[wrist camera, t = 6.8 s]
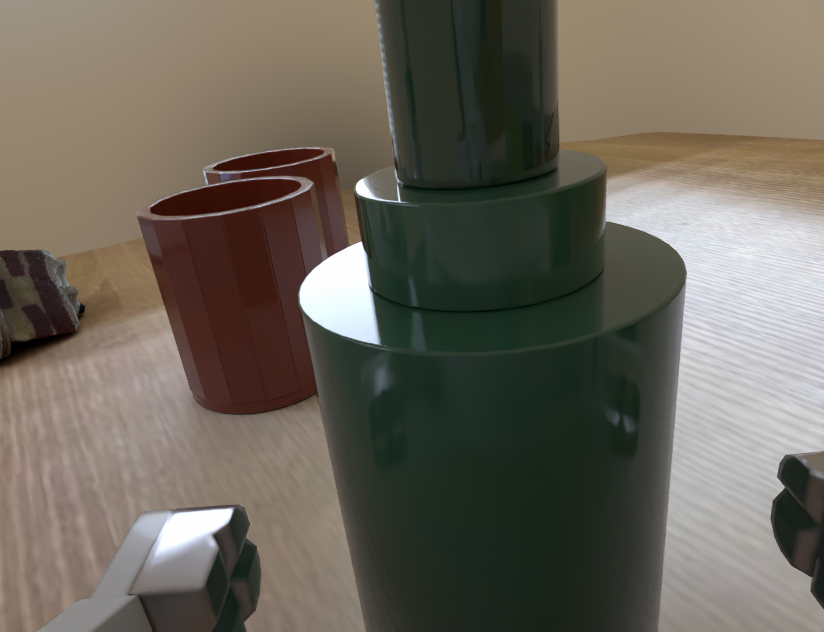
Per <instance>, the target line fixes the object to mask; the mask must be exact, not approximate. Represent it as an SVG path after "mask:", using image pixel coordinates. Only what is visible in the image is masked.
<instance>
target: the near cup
mask: <svg viewBox="0 0 824 632" xmlns="http://www.w3.org/2000/svg"><path fill="white" fill-rule="evenodd" d="M137 218H138V221H139V224H140V227H141V231H142V234H143V237H144V240H145V244H146V247H147V250H148V253H149V257H150V260H151V263H152V266H153V270H154V273H155V276H156V279H157V283H158V286H159V289H160V292H161V295H162V299H163V302H164V305H165V308H166V312H167V315H168V318H169V321H170V325H171V328H172V331H173V334H174V338H175V341H176V344H177V347H178V351H179V354H180V357H181V360H182V364H183V367H184V370H185V373H186V377H187V380H188V383H189V386H190V390H191V391H192V393H193V396H194V398H195V400H196V401H197V402H198V403H199V404H200V405H201V406H203V407H205V408H207V409H209V410H212V411H216V412H221V413H228V414H249V413H258V412H265V411H270V410H274V409H278V408H282V407H285V406H288V405H291V404H294V403H297V402H299V401H302V400H304V399H306V398H308V397H310V396H312V395H314V394H316V388H315V384H314V379H313V374H312V369H311V364H310V360H309V355H308V350H307V345H306V340H305V336H304V331H303V326H302V321H301V316H300V312H299V307H298V293H299V289H300V286H301V284H302V282H303V281H304V279H305V277H306V276H307V275H308V274H309V273H310V272H311V271H312V270H313V269H314V268H315V267H317V266H318V265H319V264H320V263H322V262H323V261H324V260H326V259H328V257H327V251H326V246H325V240H324V235H323V229H322V224H321V218H320V213H319V207H318V201H317V196H316V190H315V185H314V182H313V181H311V180H309V179H308V178H304V177H294V176H269V177H256V178H248V179H239V180H233V181H226V182H221V183H215V184H210V185H204V186H200V187H196V188H192V189H188V190H184V191H180V192H176V193H172V194H170V195H167V196H164V197H161V198H158V199H156V200H153V201H150V202H149V203H147V204H145V205H144V206H142V207H140V208H139V209H138V210H137Z"/></svg>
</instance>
